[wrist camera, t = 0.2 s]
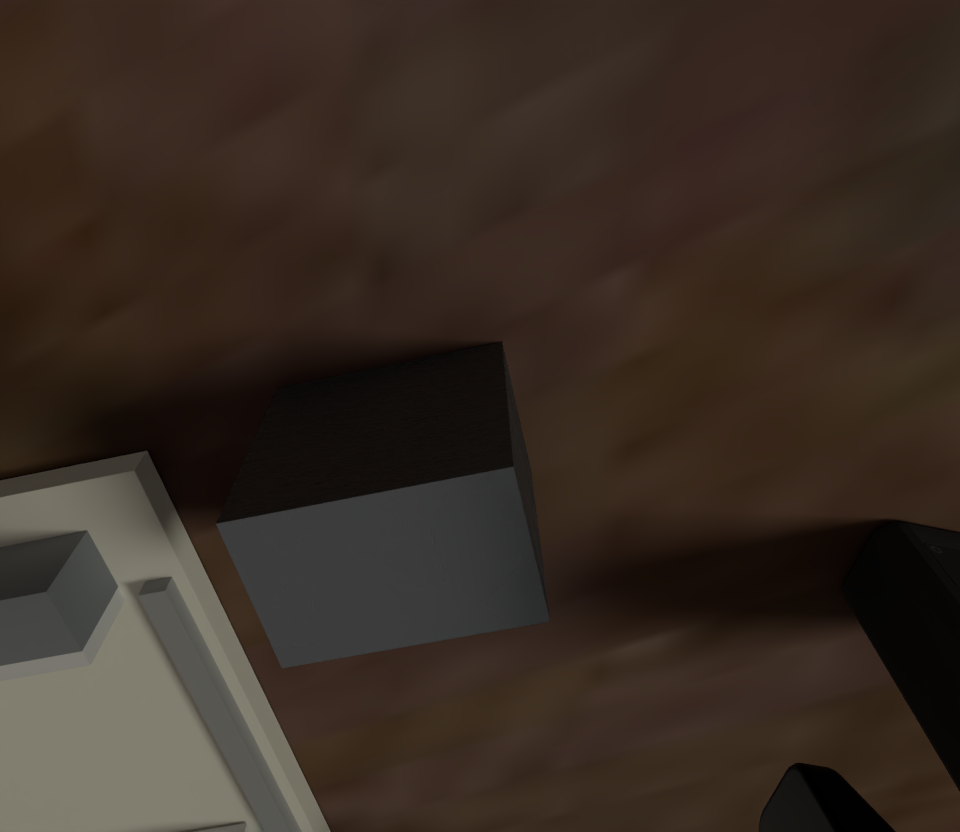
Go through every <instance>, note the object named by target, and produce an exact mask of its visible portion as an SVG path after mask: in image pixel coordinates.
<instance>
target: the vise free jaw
mask: <svg viewBox="0 0 960 832" xmlns="http://www.w3.org/2000/svg"><path fill="white" fill-rule="evenodd" d="M194 832H251V830H250V828H249V826H248V824H247V823H244V824H238V825H232V826H225V827H219V828H213V829H206V830H200V831H194Z"/></svg>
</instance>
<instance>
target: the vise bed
mask: <svg viewBox="0 0 960 832" xmlns="http://www.w3.org/2000/svg"><path fill="white" fill-rule="evenodd" d="M244 823H247V824H248V826H249V828H250V830H251V832H331V831H330V829H329V827H328V825H327V823H326V821H325V819H324V817H323V815H322V813H321V811H320V808H319V806H318V804H317V802H316V800H315V798H314V796H313V794H312V792H311V790H310V788H309V786H308V784H307V782H306V779H305V777H304V775H303V773H302V771H301V769H300V767H299V765H298V763H297V761H296V759H295V757H294V755H293V752H292V750H291V748H290V746H289V744H288V742H287V740H286V738H285V736H284V734H283V732H282V730H281V728H280V725H279V723H278V721H277V719H276V717H275V715H274V713H273V711H272V709H271V707H270V705H269V703H268V701H267V698H266V696H265V694H264V692H263V690H262V688H261V686H260V684H259V682H258V680H257V678H256V676H255V674H254V671H253V669H252V667H251V665H250V663H249V661H248V659H247V657H246V655H245V653H244V651H243V649H242V647H241V644H240V642H239V640H238V638H237V636H236V634H235V632H234V630H233V628H232V626H231V624H230V622H229V620H228V618H227V615H226V613H225V611H224V609H223V607H222V605H221V603H220V601H219V599H218V597H217V595H216V593H215V591H214V588H213V586H212V584H211V582H210V580H209V578H208V576H207V574H206V572H205V570H204V568H203V566H202V564H201V561H200V559H199V557H198V555H197V553H196V551H195V549H194V547H193V545H192V543H191V541H190V539H189V537H188V534H187V532H186V530H185V528H184V526H183V524H182V522H181V520H180V518H179V516H178V514H177V512H176V510H175V507H174V505H173V503H172V501H171V499H170V497H169V495H168V493H167V491H166V489H165V487H164V485H163V483H162V480H161V478H160V476H159V474H158V472H157V470H156V468H155V466H154V464H153V462H152V460H151V458H150V456H149V453H148V451H143V452H138V453H133V454H128V455H123V456H119V457H114V458H109V459H104V460H99V461H94V462H89V463H84V464H79V465H74V466H69V467H64V468H59V469H54V470H50V471H45V472H40V473H35V474H30V475H25V476H20V477H15V478H10V479H5V480H0V832H194V831H200V830H206V829H213V828H219V827H225V826H232V825H238V824H244Z"/></svg>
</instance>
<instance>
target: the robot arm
mask: <svg viewBox="0 0 960 832" xmlns="http://www.w3.org/2000/svg"><path fill="white" fill-rule="evenodd" d="M759 832H895V831H894V830H893V828H892V827H891V826H890V825H889V824H888V823H887V822H886V821H885V820H884V819H883V818H882V817H881V816H880V815H879V814H878V813H877V812H876V811H875V810H874V809H873V808H872V807H871V806H870V805H869V804H868V803H867V802H866V801H865V800H864V799H863V798H862V797H861V796H860V795H859V794H858V792H857V791H856V790H855V789H854V788H853V787H852V786H851V785H850V784H849V783H848V782H847V781H846V780H845V779H844V778H843V777H842V776H841V775H840V774H839V773H837V772H836V771H835V770H833V769H830V768H828V767H822V766H816V765H810V764H804V763H795V764H794V765H792V766H790V767H789V768H788V769H787V771H786V772H785V774H784V776H783V777H782V779H781V781H780V782H779V784H778V786H777V787H776V789H775V791H774V793H773V794H772V796H771V798H770V799H769V801H768V803H767V804H766V806H765V808H764V810H763V812H762V815H761V818H760V824H759Z"/></svg>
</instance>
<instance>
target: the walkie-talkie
mask: <svg viewBox="0 0 960 832" xmlns="http://www.w3.org/2000/svg"><path fill="white" fill-rule="evenodd" d="M843 593H844V596H845V599H846V601H847V603H848V604H849V606H850V608H851V609H852V611H853V613H854V614H855V616H856V618H857V619H858V621H859V623H860V625H861V626H862V628H863V630H864V631H865V633H866V635H867V636H868V638H869V640H870V641H871V643H872V645H873V646H874V648H875V650H876V651H877V653H878V655H879V656H880V658H881V660H882V662H883V663H884V665H885V667H886V668H887V670H888V672H889V673H890V675H891V677H892V678H893V680H894V682H895V683H896V685H897V687H898V688H899V690H900V692H901V693H902V695H903V697H904V699H905V700H906V702H907V704H908V705H909V707H910V709H911V710H912V712H913V714H914V715H915V717H916V719H917V720H918V722H919V724H920V725H921V727H922V729H923V730H924V732H925V734H926V736H927V737H928V739H929V741H930V742H931V744H932V746H933V747H934V749H935V751H936V752H937V754H938V756H939V757H940V759H941V761H942V762H943V764H944V766H945V767H946V769H947V771H948V773H949V774H950V776H951V778H952V779H953V781H954V783H955V784H956V786H957V788H958V789H959V791H960V533H955V532H950V531H945V530H940V529H935V528H930V527H925V526H920V525H915V524H910V523H901V522H895V523H891V524H887V525H885V526H883V527H881V528H879V529H878V530H876V532H875V533H874V534H873V535H872V536H871V538H870V540H869V541H868V543H867V545H866V547H865V548H864V550H863V552H862V554H861V555H860V557H859V559H858V561H857V562H856V564H855V566H854V568H853V569H852V571H851V573H850V575H849V576H848V578H847V580H846V582H845V584H844V588H843Z"/></svg>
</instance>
